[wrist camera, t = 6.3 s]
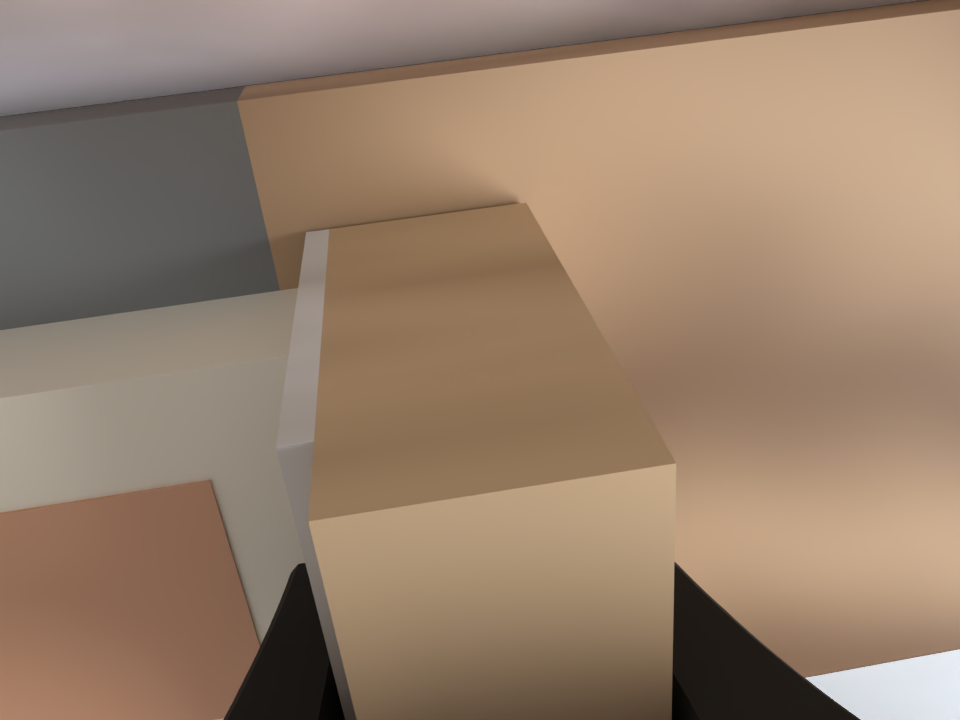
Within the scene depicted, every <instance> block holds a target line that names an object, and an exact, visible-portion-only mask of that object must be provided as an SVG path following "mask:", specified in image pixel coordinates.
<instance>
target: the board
mask: <svg viewBox="0 0 960 720" xmlns="http://www.w3.org/2000/svg"><path fill="white" fill-rule="evenodd" d="M519 203H527V205H528V206H529V208H530V210H531V212H532V213H533V215H534V217H535V219H536V220H537V222H538V224H539V226H540V227H541V229H542V231H543V232H544V234H545V236H546V238H547V239H548V241H549V243H550V245H551V246H552V248H553V250H554V252H555V253H556V255H557V257H558V259H559V260H560V262H561V264H562V266H563V267H564V269H565V271H566V272H567V274H568V276H569V278H570V279H571V281H572V283H573V285H574V286H575V288H576V290H577V292H578V293H579V295H580V297H581V299H582V300H583V302H584V304H585V305H586V307H587V309H588V311H589V312H590V314H591V316H592V318H593V319H594V321H595V323H596V325H597V326H598V328H599V330H600V332H601V333H602V335H603V337H604V338H605V340H606V342H607V344H608V345H609V347H610V349H611V351H612V352H613V354H614V356H615V358H616V359H617V361H618V363H619V365H620V366H621V368H622V370H623V371H624V373H625V375H626V377H627V378H628V380H629V382H630V384H631V385H632V387H633V389H634V391H635V392H636V394H637V396H638V398H639V399H640V401H641V403H642V405H643V406H644V408H645V410H646V411H647V413H648V415H649V417H650V418H651V420H652V422H653V424H654V425H655V427H656V429H657V431H658V432H659V434H660V436H661V438H662V439H663V441H664V443H665V444H666V446H667V448H668V450H669V451H670V453H671V455H672V457H673V458H674V460H675V462H676V508H675V562H676V563H677V564H678V565H679V566H680V567H681V568H682V569H683V570H684V571H685V572H686V573H687V574H688V575H689V576H690V577H691V578H692V579H693V580H694V581H695V582H696V583H697V584H698V585H699V586H700V587H701V588H702V589H703V590H704V591H705V592H706V593H707V594H708V595H709V596H711V597H712V598H713V599H714V600H715V601H716V602H717V603H718V604H719V605H720V606H721V607H723V608H724V609H725V610H726V611H727V612H728V613H729V614H730V615H731V616H732V617H733V618H734V619H736V620H737V621H738V622H739V623H740V624H741V625H742V626H743V627H744V628H745V629H747V630H748V631H749V632H750V633H751V634H752V635H754V636H755V637H756V638H757V639H758V640H759V641H760V642H762V643H763V644H764V645H765V646H766V647H767V648H769V649H770V650H771V651H772V652H773V653H775V654H776V655H777V656H778V657H780V658H781V659H782V660H783V661H784V662H786V663H787V664H788V665H789V666H790V667H792V668H793V669H794V670H795V671H797V672H798V673H799V674H800V675H802V676H803V677H804V678H806V677H811V676H817V675H822V674H828V673H833V672H839V671H844V670H849V669H855V668H860V667H866V666H871V665H876V664H882V663H887V662H893V661H898V660H903V659H909V658H914V657H920V656H925V655H931V654H936V653H941V652H947V651H952V650H958V649H960V0H927V1H919V2H911V3H903V4H895V5H887V6H879V7H871V8H863V9H855V10H847V11H839V12H831V13H823V14H815V15H807V16H799V17H791V18H783V19H775V20H768V21H760V22H752V23H744V24H736V25H728V26H720V27H712V28H704V29H696V30H688V31H680V32H672V33H664V34H656V35H648V36H640V37H632V38H624V39H616V40H608V41H600V42H592V43H584V44H577V45H569V46H561V47H553V48H545V49H537V50H529V51H521V52H513V53H505V54H497V55H489V56H481V57H473V58H465V59H457V60H449V61H441V62H433V63H425V64H417V65H409V66H401V67H393V68H386V69H378V70H370V71H362V72H354V73H346V74H338V75H330V76H322V77H314V78H306V79H298V80H290V81H282V82H274V83H266V84H258V85H250V86H242V87H234V88H226V89H218V90H210V91H202V92H195V93H187V94H179V95H171V96H163V97H155V98H147V99H139V100H131V101H123V102H115V103H107V104H99V105H91V106H83V107H75V108H67V109H59V110H51V111H43V112H35V113H27V114H19V115H11V116H4V117H0V330H5V329H12V328H19V327H26V326H33V325H40V324H48V323H55V322H62V321H69V320H76V319H83V318H90V317H97V316H104V315H111V314H118V313H125V312H132V311H139V310H146V309H153V308H160V307H167V306H174V305H181V304H188V303H195V302H202V301H209V300H216V299H223V298H230V297H238V296H245V295H252V294H259V293H266V292H273V291H280V290H287V289H294V288H298V286H299V279H300V272H301V265H302V258H303V251H304V244H305V236H306V232H311V231H319V230H326V229H334V228H341V227H348V226H356V225H363V224H371V223H378V222H385V221H393V220H400V219H408V218H415V217H423V216H430V215H437V214H445V213H452V212H460V211H467V210H474V209H482V208H489V207H497V206H504V205H511V204H519Z"/></svg>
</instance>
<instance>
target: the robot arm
mask: <svg viewBox="0 0 960 720" xmlns="http://www.w3.org/2000/svg"><path fill="white" fill-rule="evenodd" d="M223 720H345V717H344V713H343V709H342V705H341V702H340V698H339V694H338V690H337V686H336V682H335V678H334V674H333V670H332V666H331V662H330V658H329V654H328V650H327V647H326V643H325V639H324V635H323V631H322V627H321V623H320V619H319V615H318V611H317V607H316V603H315V599H314V595H313V592H312V588H311V584H310V580H309V576H308V572H307V568H306V564H305V563H301V564H298V565H297V566H296V567H295V568H294V569H293V571H292V572H291V574H290V576H289V579H288V582H287V585H286V587H285V590H284V592H283V595H282V597H281V600H280V602H279V605H278V607H277V610H276V612H275V614H274V617H273V619H272V621H271V624H270V626H269V628H268V630H267V633H266V635H265V637H264V639H263V641H262V644H261V646H260V648H259V650H258V652H257V654H256V656H255V658H254V660H253V662H252V664H251V666H250V668H249V670H248V672H247V674H246V676H245V678H244V680H243V682H242V684H241V686H240V688H239V690H238V692H237V694H236V696H235V698H234V700H233V702H232V704H231V706H230V708H229V710H228V712H227V714H226V716H225V717H224V719H223ZM672 720H860V719H859V718H857V717H856V716H855V715H853V714H852V713H850V712H849V711H848V710H846V709H845V708H843V707H842V706H841V705H839V704H838V703H837V702H835V701H834V700H833V699H831V698H830V697H829V696H827V695H826V694H825V693H823V692H822V691H821V690H819V689H818V688H817V687H816V686H814V685H813V684H812V683H810V682H809V681H808V680H807V679H805V678H804V677H803V676H802V675H800V674H799V673H798V672H797V671H795V670H794V669H793V668H792V667H790V666H789V665H788V664H787V663H786V662H784V661H783V660H782V659H781V658H780V657H778V656H777V655H776V654H775V653H773V652H772V651H771V650H770V649H769V648H767V647H766V646H765V645H764V644H763V643H762V642H760V641H759V640H758V639H757V638H756V637H755V636H754V635H752V634H751V633H750V632H749V631H748V630H747V629H745V628H744V627H743V626H742V625H741V624H740V623H739V622H738V621H737V620H736V619H734V618H733V617H732V616H731V615H730V614H729V613H728V612H727V611H726V610H725V609H724V608H723V607H721V606H720V605H719V604H718V603H717V602H716V601H715V600H714V599H713V598H712V597H711V596H709V595H708V594H707V593H706V592H705V591H704V590H703V589H702V588H701V587H700V586H699V585H698V584H697V583H696V582H695V581H694V580H693V579H692V578H691V577H690V576H689V575H688V574H687V573H686V572H685V571H684V570H683V569H682V568H681V567H680V566H679V565H678V564H677V563H676V562H674V615H673V669H672Z"/></svg>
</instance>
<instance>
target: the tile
mask: <svg viewBox="0 0 960 720" xmlns="http://www.w3.org/2000/svg"><path fill="white" fill-rule="evenodd" d="M297 293H298V288H294V289H287V290H280V291H273V292H266V293H259V294H252V295H245V296H238V297H230V298H223V299H216V300H209V301H202V302H195V303H188V304H181V305H174V306H167V307H160V308H153V309H146V310H139V311H132V312H125V313H118V314H111V315H104V316H97V317H90V318H83V319H76V320H69V321H62V322H55V323H48V324H40V325H33V326H26V327H19V328H12V329H5V330H0V720H223V719H224V717H225V716H226V714H227V712H228V710H229V708H230V706H231V704H232V702H233V700H234V698H235V696H236V694H237V692H238V690H239V688H240V686H241V684H242V682H243V680H244V678H245V676H246V674H247V672H248V670H249V668H250V666H251V664H252V662H253V660H254V658H255V656H256V654H257V652H258V650H259V648H260V646H261V644H262V641H263V639H264V637H265V635H266V633H267V630H268V628H269V626H270V624H271V621H272V619H273V617H274V614H275V612H276V610H277V607H278V605H279V602H280V600H281V597H282V595H283V592H284V590H285V587H286V585H287V582H288V579H289V576H290V574H291V572H292V571H293V569H294V568H295V567H296V566H297V565H298V564H301V563H305V560H304V556H303V552H302V548H301V544H300V540H299V537H298V533H297V529H296V525H295V521H294V517H293V513H292V509H291V505H290V501H289V497H288V493H287V489H286V485H285V482H284V478H283V474H282V470H281V466H280V462H279V458H278V454H277V450H276V442H277V434H278V427H279V420H280V413H281V406H282V399H283V392H284V385H285V378H286V371H287V364H288V357H289V350H290V343H291V335H292V328H293V321H294V314H295V307H296V300H297Z"/></svg>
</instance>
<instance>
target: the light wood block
mask: <svg viewBox="0 0 960 720" xmlns="http://www.w3.org/2000/svg"><path fill="white" fill-rule="evenodd" d="M276 450H277V454H278V458H279V462H280V466H281V470H282V474H283V478H284V482H285V485H286V489H287V493H288V497H289V501H290V505H291V509H292V513H293V517H294V521H295V525H296V529H297V533H298V537H299V540H300V544H301V548H302V552H303V556H304V560H305V564H306V568H307V572H308V576H309V580H310V584H311V588H312V592H313V595H314V599H315V603H316V607H317V611H318V615H319V619H320V623H321V627H322V631H323V635H324V639H325V643H326V647H327V650H328V654H329V658H330V662H331V666H332V670H333V674H334V678H335V682H336V686H337V690H338V694H339V698H340V702H341V705H342V709H343V713H344V717H345V720H672V669H673V615H674V562H675V508H676V462H675V460H674V458H673V457H672V455H671V453H670V451H669V450H668V448H667V446H666V444H665V443H664V441H663V439H662V438H661V436H660V434H659V432H658V431H657V429H656V427H655V425H654V424H653V422H652V420H651V418H650V417H649V415H648V413H647V411H646V410H645V408H644V406H643V405H642V403H641V401H640V399H639V398H638V396H637V394H636V392H635V391H634V389H633V387H632V385H631V384H630V382H629V380H628V378H627V377H626V375H625V373H624V371H623V370H622V368H621V366H620V365H619V363H618V361H617V359H616V358H615V356H614V354H613V352H612V351H611V349H610V347H609V345H608V344H607V342H606V340H605V338H604V337H603V335H602V333H601V332H600V330H599V328H598V326H597V325H596V323H595V321H594V319H593V318H592V316H591V314H590V312H589V311H588V309H587V307H586V305H585V304H584V302H583V300H582V299H581V297H580V295H579V293H578V292H577V290H576V288H575V286H574V285H573V283H572V281H571V279H570V278H569V276H568V274H567V272H566V271H565V269H564V267H563V266H562V264H561V262H560V260H559V259H558V257H557V255H556V253H555V252H554V250H553V248H552V246H551V245H550V243H549V241H548V239H547V238H546V236H545V234H544V232H543V231H542V229H541V227H540V226H539V224H538V222H537V220H536V219H535V217H534V215H533V213H532V212H531V210H530V208H529V206H528V205H527V203H519V204H511V205H504V206H497V207H489V208H482V209H474V210H467V211H460V212H452V213H445V214H437V215H430V216H423V217H415V218H408V219H400V220H393V221H385V222H378V223H371V224H363V225H356V226H348V227H341V228H334V229H326V230H319V231H311V232H306V236H305V244H304V251H303V258H302V265H301V272H300V279H299V286H298V293H297V300H296V307H295V314H294V321H293V328H292V335H291V343H290V350H289V357H288V364H287V371H286V378H285V385H284V392H283V399H282V406H281V413H280V420H279V427H278V434H277V442H276Z"/></svg>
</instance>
